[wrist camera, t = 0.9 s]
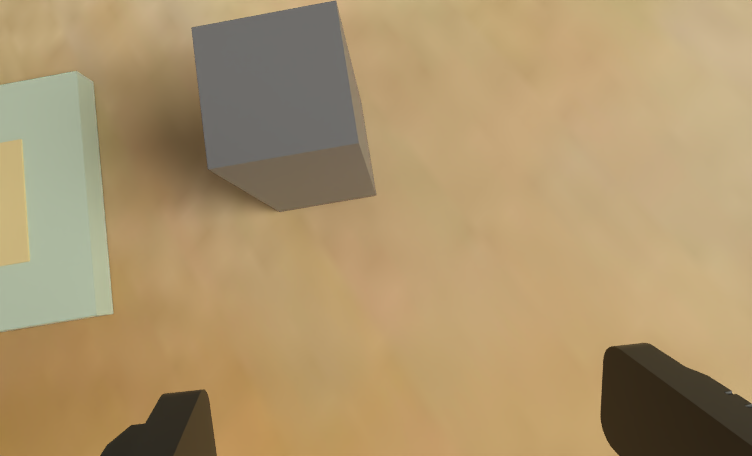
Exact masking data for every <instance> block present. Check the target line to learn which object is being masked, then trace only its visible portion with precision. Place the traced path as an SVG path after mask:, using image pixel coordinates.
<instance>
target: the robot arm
mask: <svg viewBox="0 0 752 456" xmlns="http://www.w3.org/2000/svg"><path fill="white" fill-rule="evenodd" d="M601 424H602V428H603V431H604V434H605V436H606V439H607V441H608V442H609V444H610V446H611V447H612V448H613V449H614V450H615V452H616V453H617V454H618V455H619V456H752V404H751V403H750V402H748V401H747V400H745V399H744V398H742V397H740V396H739V395H737V394H732V391H731V390H729V389H728V388H726V387H725V386H723V385H722V384H720V383H718V382H717V381H715V380H714V379H712V378H711V377H709V376H707V375H705V374H702V373H700V372H697V371H695V370H692V369H690V368H687V367H685V366H683V365H682V364H680V363H679V362H677V361H676V360H674V359H673V358H671V357H669V356H668V355H666V354H665V353H663V352H662V351H660V350H659V349H657V348H656V347H654V346H653V345H651V344H648V343H639V344H630V345H621V346H612V347H609V348H608V349H607V350H606V352H605V354H604V360H603V377H602V396H601ZM100 456H217V454H216V447H215V439H214V432H213V425H212V418H211V410H210V403H209V398H208V394H207V392H206V391H205V390H195V391H185V392H176V393H167V394H163V395H162V396H161V397H160V399H159V400H158V402H157V404H156V406H155V407H154V409H153V411H152V413H151V414H150V416H149V418H148V420H147V421H146V423H145V424H138V425H131V426H130V427H129V428H127V429H126V430H125V431H124V432H122V433H121V434H120V435H119V436H118V437H116V438H115V439H114V440H113V441H112V442H110V443H109V444H108V445H107V446H106V448H105V449H104V451H103V452H102V454H101V455H100Z"/></svg>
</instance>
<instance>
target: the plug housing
mask: <svg viewBox="0 0 752 456" xmlns="http://www.w3.org/2000/svg"><path fill="white" fill-rule="evenodd" d="M192 37H193V45H194V54H195V63H196V71H197V80H198V88H199V97H200V106H201V114H202V123H203V131H204V140H205V148H206V157H207V166H208V170H210V171H211V172H213V173H215V174H216V175H218V176H220V177H221V178H223V179H225V180H227V181H228V182H230V183H232V184H233V185H235V186H237V187H238V188H240V189H242V190H243V191H245V192H247V193H248V194H250V195H252V196H254V197H255V198H257V199H259V200H260V201H262V202H264V203H265V204H267V205H269V206H270V207H272V208H274V209H275V210H277V211H279V212H281V211H287V210H293V209H299V208H305V207H311V206H317V205H323V204H329V203H335V202H340V201H346V200H352V199H358V198H364V197H370V196H376V190H375V184H374V178H373V172H372V166H371V159H370V153H369V147H368V141H367V135H366V129H365V122H364V116H363V110H362V104H361V99H360V95H359V91H358V87H357V83H356V79H355V75H354V71H353V67H352V63H351V59H350V55H349V51H348V47H347V43H346V39H345V35H344V31H343V27H342V23H341V19H340V15H339V10H338V6H337V2H336V1H331V2H325V3H320V4H315V5H309V6H304V7H299V8H293V9H288V10H283V11H277V12H272V13H267V14H261V15H256V16H251V17H245V18H240V19H235V20H230V21H224V22H219V23H214V24H208V25H203V26H198V27H192Z"/></svg>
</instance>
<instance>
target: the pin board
mask: <svg viewBox="0 0 752 456" xmlns="http://www.w3.org/2000/svg"><path fill="white" fill-rule="evenodd" d="M109 314H113V303H112V292H111V280H110V269H109V257H108V246H107V234H106V222H105V211H104V199H103V188H102V176H101V165H100V153H99V141H98V130H97V118H96V107H95V95H94V84H93V81H91V80H90V79H88V78H87V77H85V76H84V75H82V74H81V73H79V72H78V71H73V72H68V73H62V74H57V75H52V76H46V77H41V78H35V79H30V80H25V81H19V82H14V83H9V84H3V85H0V332H5V331H11V330H17V329H23V328H29V327H35V326H41V325H48V324H54V323H60V322H66V321H72V320H78V319H85V318H91V317H97V316H103V315H109Z"/></svg>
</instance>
